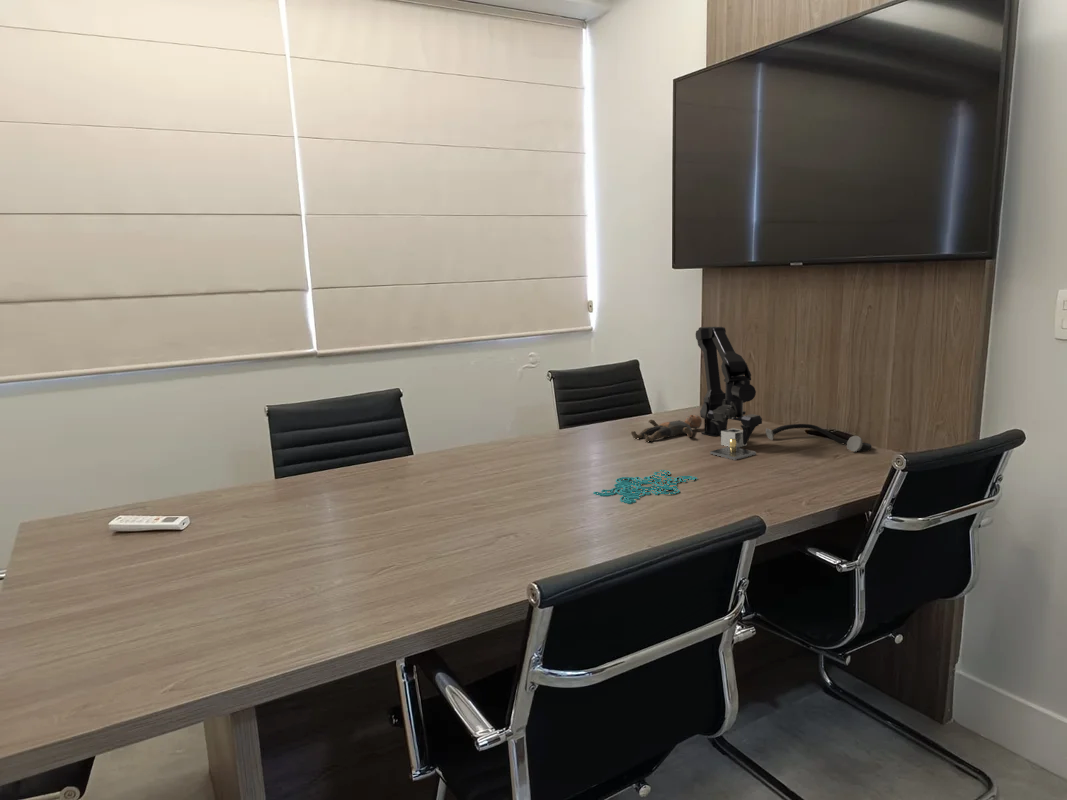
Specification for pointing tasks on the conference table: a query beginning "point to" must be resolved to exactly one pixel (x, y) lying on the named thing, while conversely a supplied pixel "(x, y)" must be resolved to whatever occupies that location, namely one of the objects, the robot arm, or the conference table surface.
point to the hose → (852, 443)
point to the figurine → (669, 428)
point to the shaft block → (733, 451)
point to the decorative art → (632, 496)
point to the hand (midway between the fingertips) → (733, 441)
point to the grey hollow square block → (732, 437)
